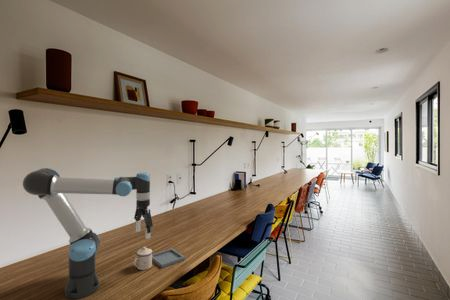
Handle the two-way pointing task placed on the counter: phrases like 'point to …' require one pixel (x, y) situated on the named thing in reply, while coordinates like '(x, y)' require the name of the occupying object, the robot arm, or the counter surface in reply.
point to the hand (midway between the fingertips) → (143, 234)
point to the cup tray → (167, 258)
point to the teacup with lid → (143, 259)
